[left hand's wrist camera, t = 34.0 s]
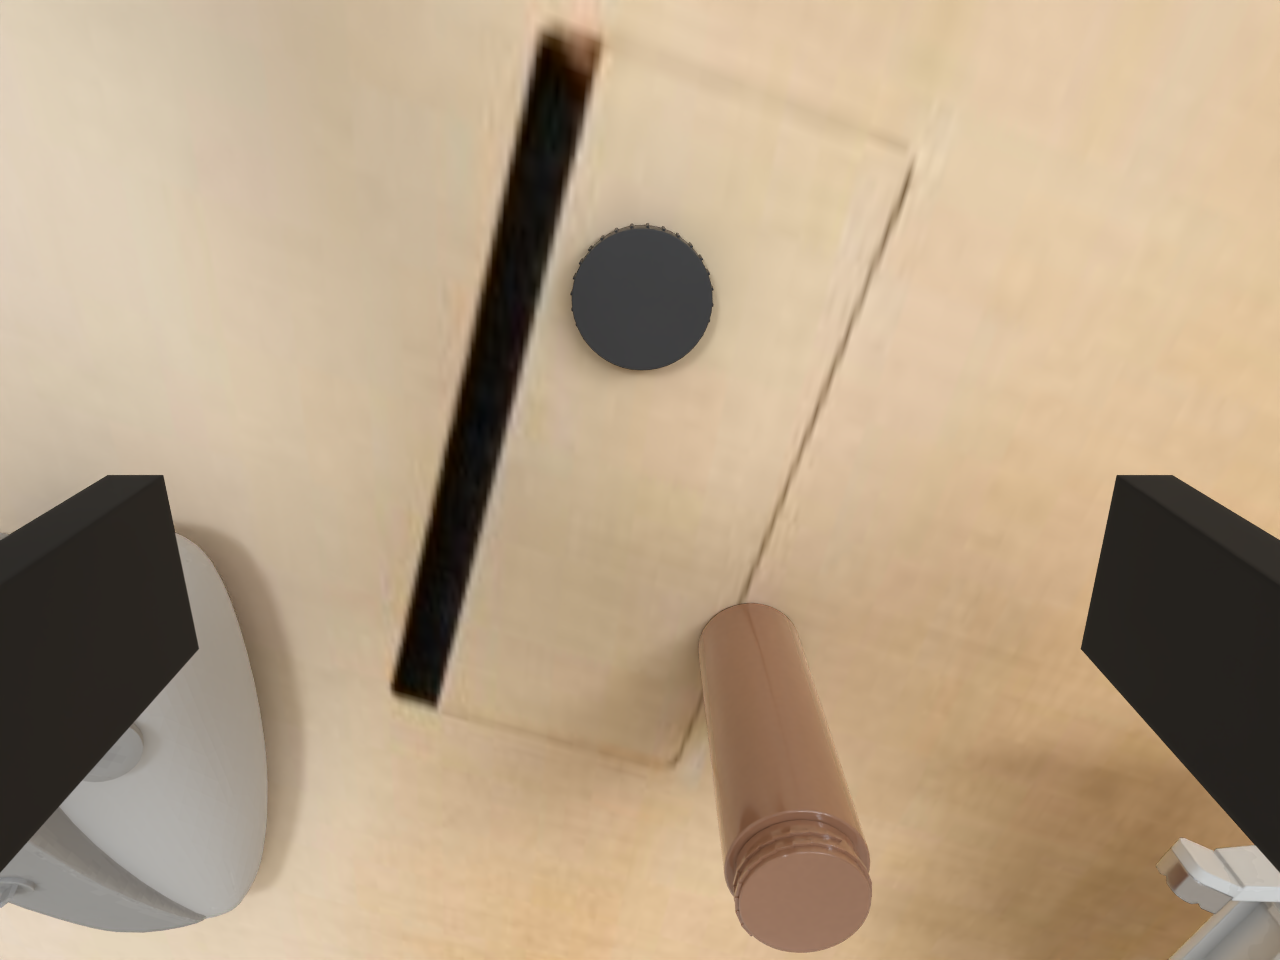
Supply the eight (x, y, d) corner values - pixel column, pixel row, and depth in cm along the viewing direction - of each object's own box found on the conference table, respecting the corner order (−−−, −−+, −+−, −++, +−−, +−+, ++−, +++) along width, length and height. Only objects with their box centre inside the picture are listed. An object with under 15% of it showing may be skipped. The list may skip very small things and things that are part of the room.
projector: (-167, 730, 45) (-519, 982, 31) (-3, 380, 38) (-359, 506, 25) (222, 918, 50) (63, 1210, 36) (428, 634, 43) (329, 859, 29)
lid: (552, 330, 38) (548, 337, 36) (605, 199, 36) (604, 201, 34) (676, 383, 39) (677, 393, 37) (734, 258, 37) (738, 263, 35)
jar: (764, 584, 42) (832, 818, 27) (818, 657, 44) (909, 918, 29) (678, 636, 43) (698, 889, 28) (733, 706, 45) (780, 982, 30)
